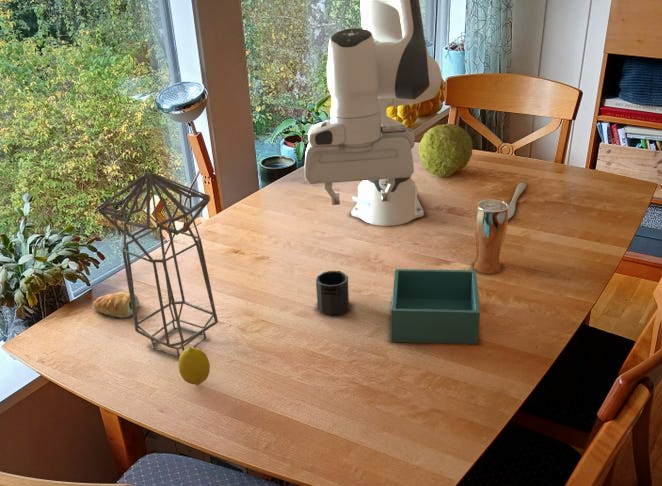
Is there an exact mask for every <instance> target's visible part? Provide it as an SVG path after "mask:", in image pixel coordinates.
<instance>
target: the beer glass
mask: <svg viewBox="0 0 662 486" xmlns="http://www.w3.org/2000/svg"><path fill="white" fill-rule="evenodd" d="M508 205H509V203H507V202H505V201H503V200H499V199H491V198H490V199H483V200H481V201H479V202H478V203H477V205H476V212H475V219H474V237H475V247H476V256H475V259H474V263H473V269H474V270H476V272H477V273H481V274H485V275H486V274H488V275H489V274H496V273H498V272H499V271H501V269H502V261H501V253H502V248H503V245H504V242H505V239H506V236H507V235H506V234H507V231H508V224H509V223H508V222H509V219H508Z"/></svg>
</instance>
